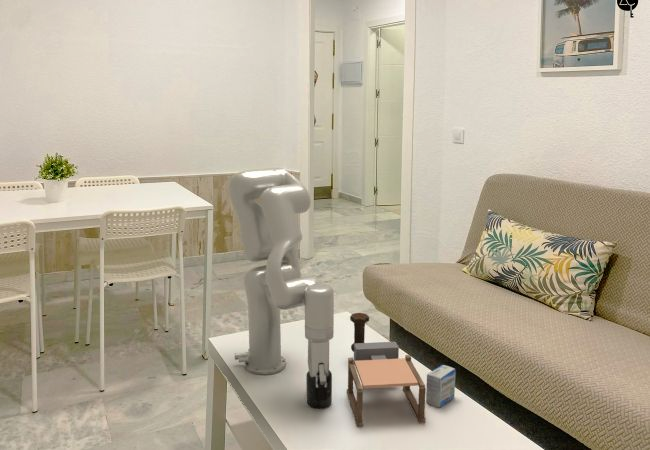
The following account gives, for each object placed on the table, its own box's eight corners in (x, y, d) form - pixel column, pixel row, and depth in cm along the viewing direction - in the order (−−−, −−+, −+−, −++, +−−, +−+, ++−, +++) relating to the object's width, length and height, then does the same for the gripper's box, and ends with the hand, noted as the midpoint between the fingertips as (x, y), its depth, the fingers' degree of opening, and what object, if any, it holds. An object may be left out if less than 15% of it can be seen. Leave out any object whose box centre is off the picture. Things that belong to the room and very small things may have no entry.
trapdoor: (363, 395, 150) (363, 378, 149) (350, 358, 170) (350, 343, 169) (417, 392, 152) (418, 375, 151) (398, 356, 172) (398, 341, 171)
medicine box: (439, 408, 159) (441, 378, 157) (425, 402, 162) (426, 373, 160) (454, 397, 164) (456, 368, 163) (440, 392, 167) (442, 363, 165)
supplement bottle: (327, 395, 165) (327, 355, 163) (335, 407, 159) (335, 366, 156) (303, 398, 164) (303, 358, 161) (310, 411, 157) (310, 369, 154)
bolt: (368, 357, 188) (369, 313, 185) (368, 365, 183) (368, 319, 180) (350, 357, 189) (350, 312, 186) (349, 364, 184) (349, 318, 181)
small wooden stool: (356, 426, 150) (357, 386, 148) (346, 393, 167) (347, 356, 164) (425, 422, 152) (426, 383, 149) (408, 389, 169) (409, 353, 166)
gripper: (302, 319, 165) (302, 378, 169) (307, 345, 148) (308, 410, 152) (329, 318, 165) (329, 377, 169) (337, 344, 149) (337, 409, 153)
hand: (319, 392), depth 161 cm, fingers closed on supplement bottle, 6 cm apart
